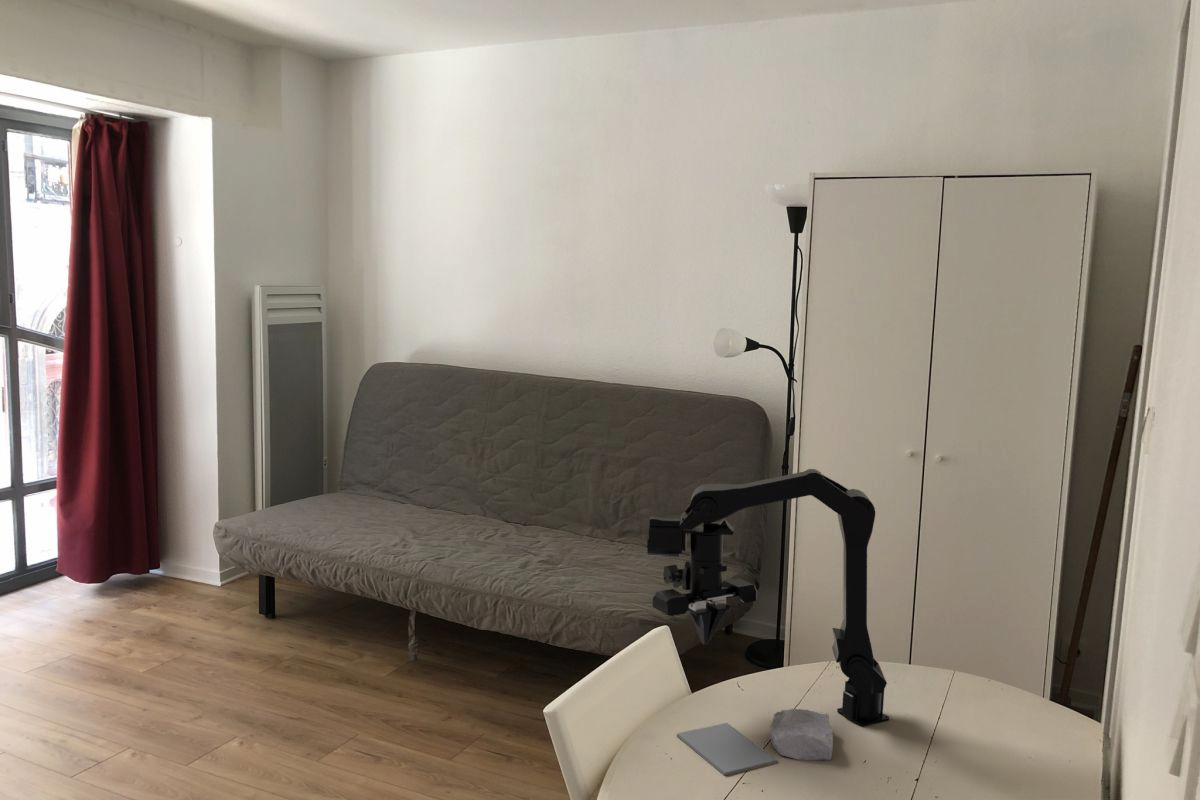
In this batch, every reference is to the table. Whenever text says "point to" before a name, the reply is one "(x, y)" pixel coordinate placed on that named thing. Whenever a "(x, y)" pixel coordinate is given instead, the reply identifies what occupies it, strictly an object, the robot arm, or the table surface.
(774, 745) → the stone block
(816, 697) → the table surface
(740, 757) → the mat
